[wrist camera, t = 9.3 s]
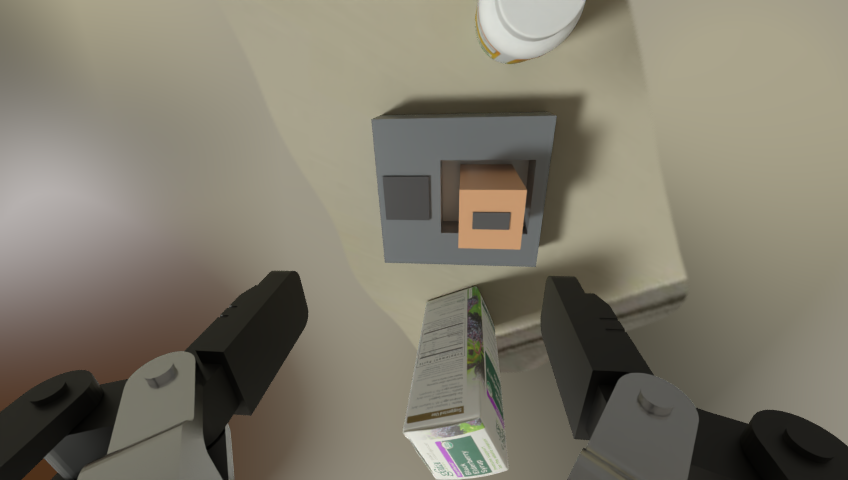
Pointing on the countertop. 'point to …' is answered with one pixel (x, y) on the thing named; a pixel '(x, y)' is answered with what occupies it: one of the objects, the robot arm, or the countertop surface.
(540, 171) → the plate
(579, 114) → the countertop surface
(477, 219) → the block
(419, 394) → the syrup box
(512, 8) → the supplement bottle
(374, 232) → the countertop surface
